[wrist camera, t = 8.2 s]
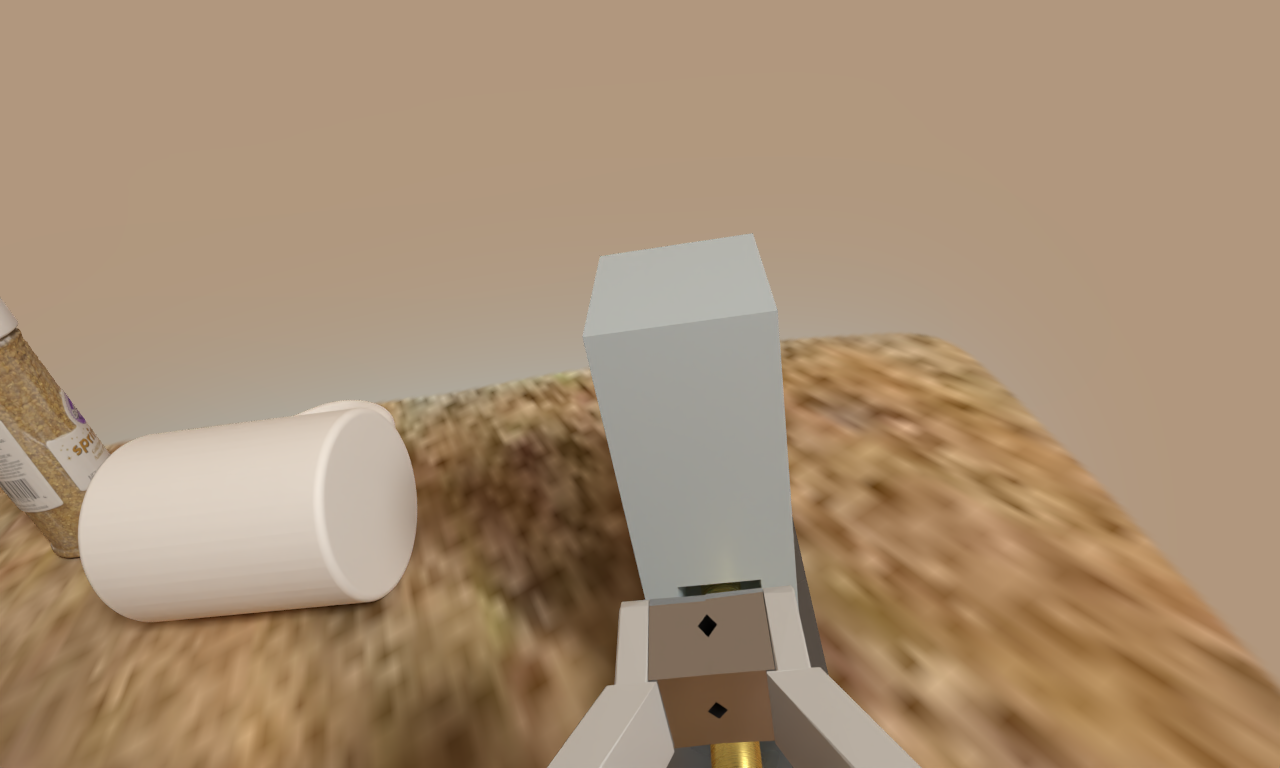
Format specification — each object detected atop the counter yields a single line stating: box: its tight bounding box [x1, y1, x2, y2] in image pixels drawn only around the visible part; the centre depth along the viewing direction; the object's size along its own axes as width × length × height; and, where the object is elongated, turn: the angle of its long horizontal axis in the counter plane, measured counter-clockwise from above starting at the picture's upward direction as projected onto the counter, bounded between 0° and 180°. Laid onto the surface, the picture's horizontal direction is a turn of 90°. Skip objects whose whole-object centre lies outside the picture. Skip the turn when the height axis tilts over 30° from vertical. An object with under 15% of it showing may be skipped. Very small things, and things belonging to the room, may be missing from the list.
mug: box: [78, 400, 417, 622], centre depth 31 cm, size 12×10×8 cm
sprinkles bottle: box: [0, 298, 110, 558], centre depth 34 cm, size 5×5×13 cm
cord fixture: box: [667, 518, 828, 768], centre depth 20 cm, size 6×19×9 cm, turn 178°
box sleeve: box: [583, 233, 799, 610], centre depth 21 cm, size 4×5×12 cm
